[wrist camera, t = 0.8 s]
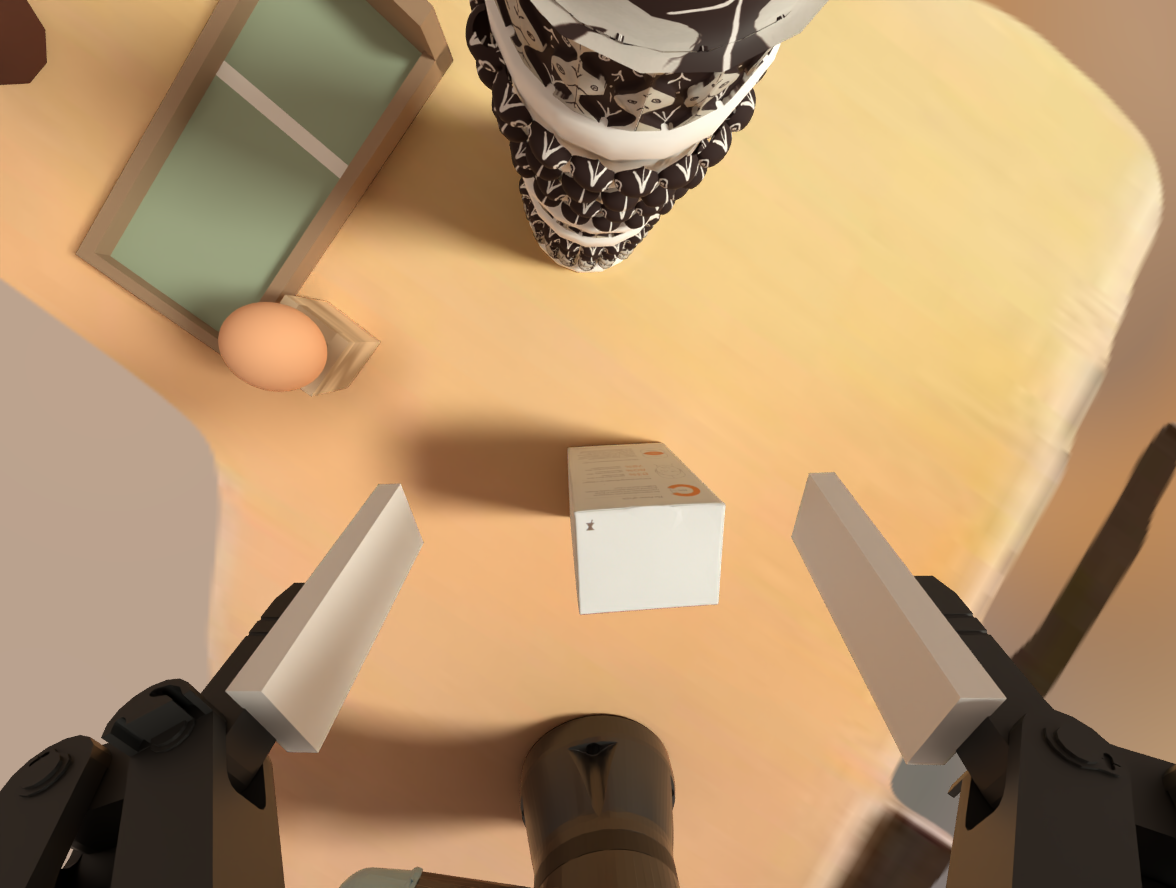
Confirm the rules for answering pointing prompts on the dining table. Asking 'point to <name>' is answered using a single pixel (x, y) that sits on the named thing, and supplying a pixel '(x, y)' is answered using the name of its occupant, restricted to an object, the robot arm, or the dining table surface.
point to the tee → (335, 344)
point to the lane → (263, 151)
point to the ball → (272, 346)
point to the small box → (642, 530)
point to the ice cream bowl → (20, 43)
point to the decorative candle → (620, 105)
